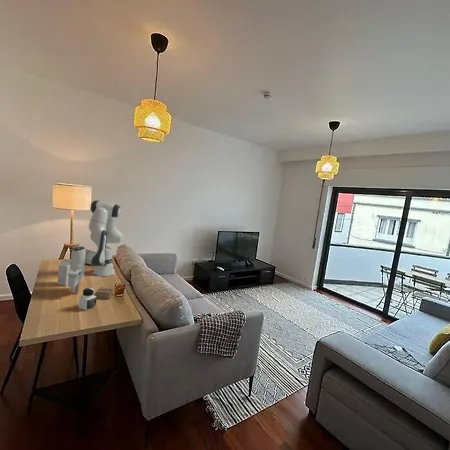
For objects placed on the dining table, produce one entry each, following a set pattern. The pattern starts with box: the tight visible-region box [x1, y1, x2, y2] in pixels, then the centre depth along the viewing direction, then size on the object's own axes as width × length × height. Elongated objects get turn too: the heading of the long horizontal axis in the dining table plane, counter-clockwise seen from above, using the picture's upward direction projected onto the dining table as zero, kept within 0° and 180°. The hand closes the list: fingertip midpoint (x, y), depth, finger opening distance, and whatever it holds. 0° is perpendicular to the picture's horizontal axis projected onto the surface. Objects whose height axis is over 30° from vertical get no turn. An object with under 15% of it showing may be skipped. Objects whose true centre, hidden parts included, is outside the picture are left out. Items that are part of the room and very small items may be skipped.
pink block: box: [70, 281, 82, 295], centre depth 181 cm, size 5×5×8 cm
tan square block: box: [95, 286, 115, 300], centre depth 182 cm, size 9×9×5 cm
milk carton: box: [57, 258, 71, 287], centre depth 194 cm, size 7×7×19 cm
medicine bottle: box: [77, 287, 98, 311], centre depth 162 cm, size 7×7×12 cm
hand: (75, 289), depth 181 cm, fingers open, 6 cm apart
